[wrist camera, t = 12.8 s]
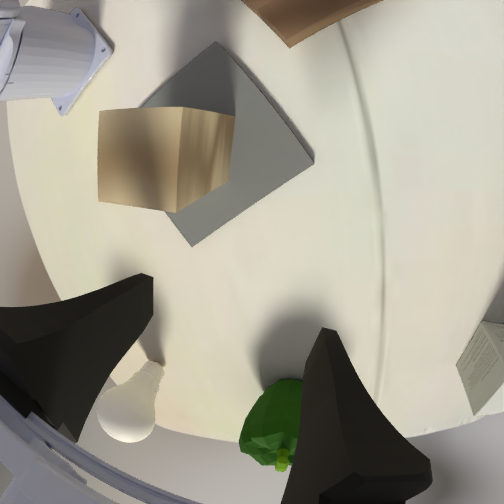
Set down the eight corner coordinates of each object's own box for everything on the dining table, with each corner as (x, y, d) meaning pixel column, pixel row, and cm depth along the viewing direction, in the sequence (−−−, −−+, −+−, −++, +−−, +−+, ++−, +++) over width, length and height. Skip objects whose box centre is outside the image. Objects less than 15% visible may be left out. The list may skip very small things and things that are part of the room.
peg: (174, 113, 18) (99, 111, 10) (235, 116, 17) (182, 106, 10) (170, 174, 20) (98, 201, 12) (228, 181, 19) (176, 213, 12)
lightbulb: (128, 341, 29) (75, 408, 19) (173, 348, 28) (123, 428, 18) (145, 377, 31) (103, 441, 22) (187, 385, 30) (149, 460, 20)
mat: (117, 139, 20) (113, 139, 19) (218, 43, 15) (215, 41, 15) (194, 244, 22) (191, 247, 22) (314, 163, 18) (314, 163, 17)
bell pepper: (305, 421, 29) (295, 493, 20) (243, 398, 29) (219, 472, 20) (347, 385, 25) (348, 471, 16) (276, 357, 25) (255, 448, 16)
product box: (515, 323, 18) (545, 368, 12) (489, 365, 21) (510, 412, 14) (481, 319, 19) (511, 371, 13) (453, 365, 22) (472, 418, 15)
